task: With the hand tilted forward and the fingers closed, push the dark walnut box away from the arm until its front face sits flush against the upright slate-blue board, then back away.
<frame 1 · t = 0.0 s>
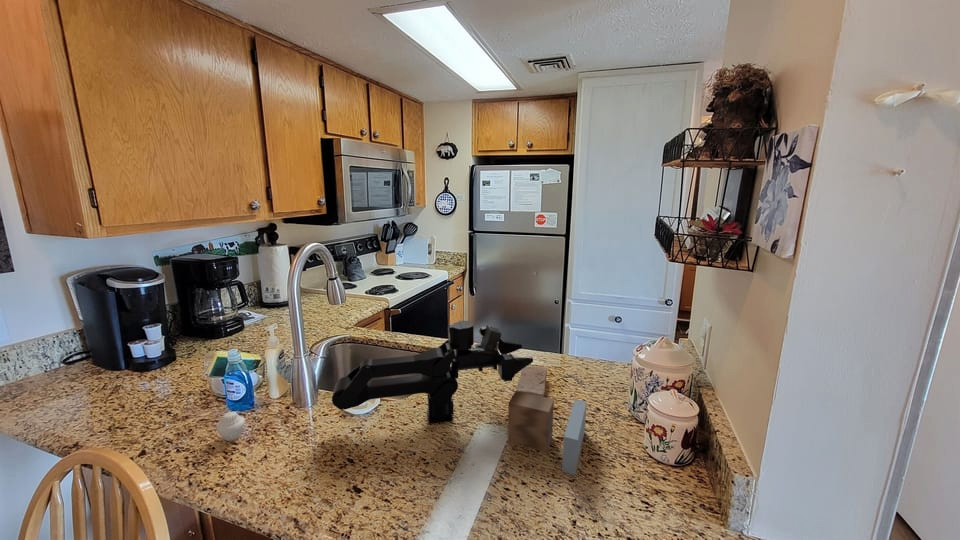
hand: (527, 352, 107), 17 cm above the countertop, tool horizontal, fingers open, 9 cm apart
slate board: (574, 450, 92), on the countertop
brick: (532, 392, 119), on the countertop
walnut box: (530, 439, 96), on the countertop
grey rounded lump: (233, 437, 97), on the countertop
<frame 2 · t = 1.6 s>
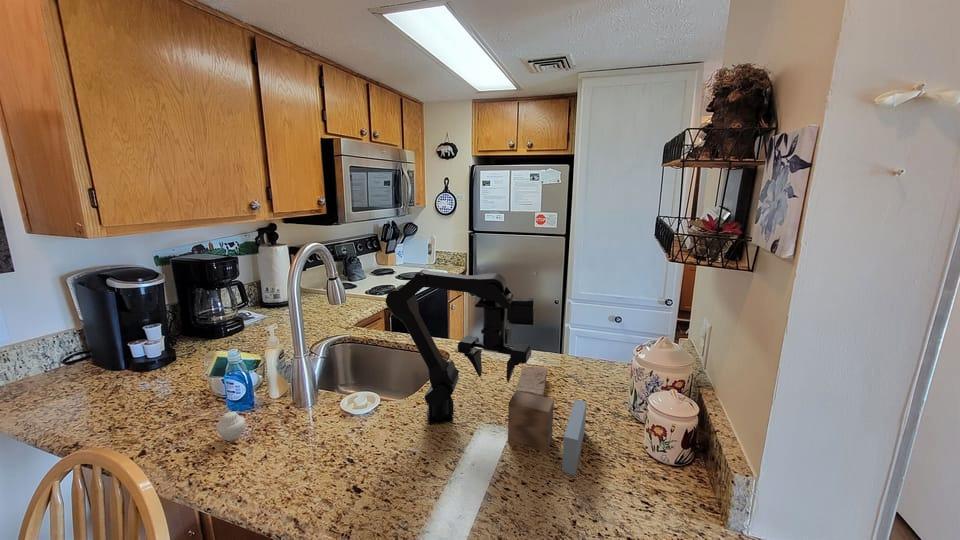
hand: (494, 378, 100), 13 cm above the countertop, tool pointing down, fingers open, 8 cm apart
nothing on the countertop moved.
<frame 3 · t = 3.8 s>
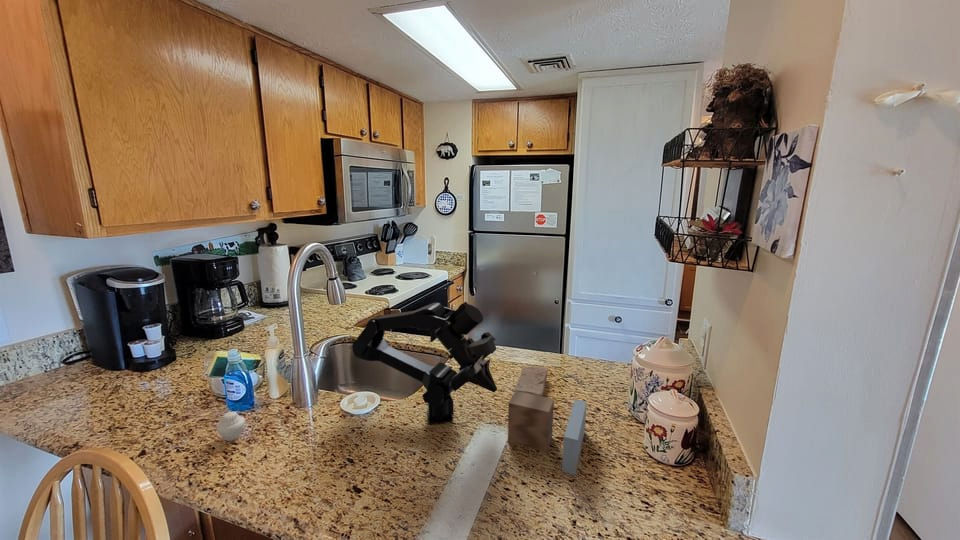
hand: (495, 390, 97), 12 cm above the countertop, tool tilted 45°, fingers closed
nothing on the countertop moved.
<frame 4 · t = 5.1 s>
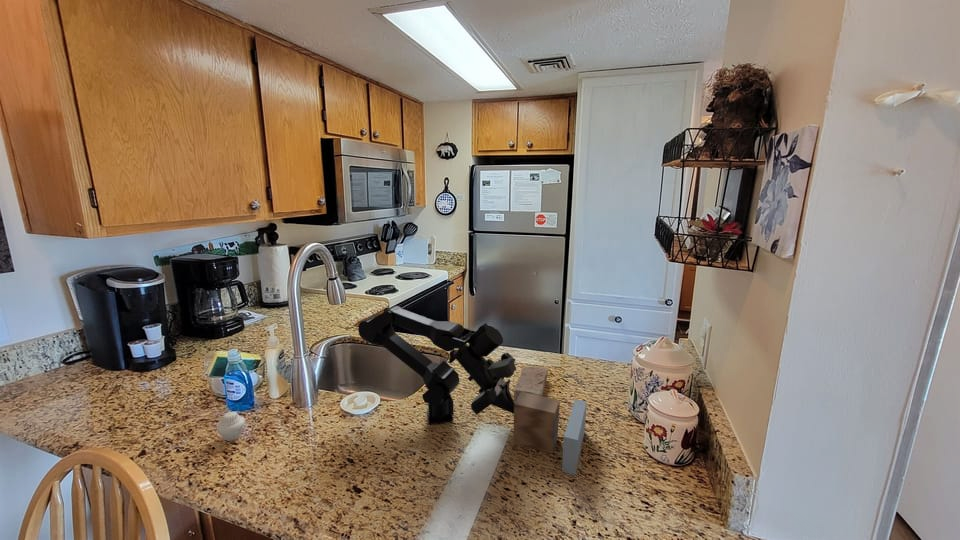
hand: (516, 412, 96), 7 cm above the countertop, tool tilted 45°, fingers closed, pressing on walnut box
walnut box: (535, 440, 96), on the countertop, touching gripper
everything else where it was.
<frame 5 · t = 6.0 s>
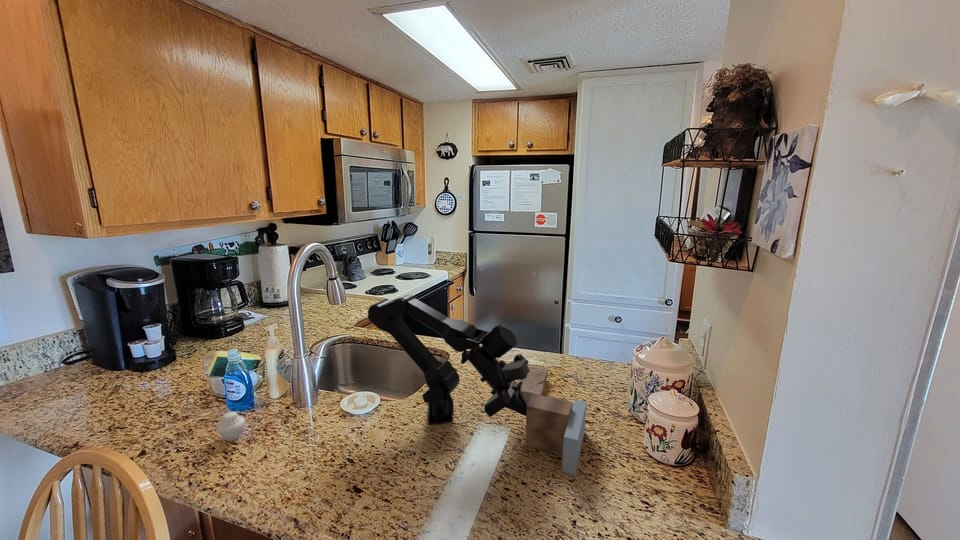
hand: (528, 414, 95), 7 cm above the countertop, tool tilted 45°, fingers closed, pressing on walnut box
walnut box: (547, 443, 95), on the countertop, touching gripper, slate board
everything else where it was.
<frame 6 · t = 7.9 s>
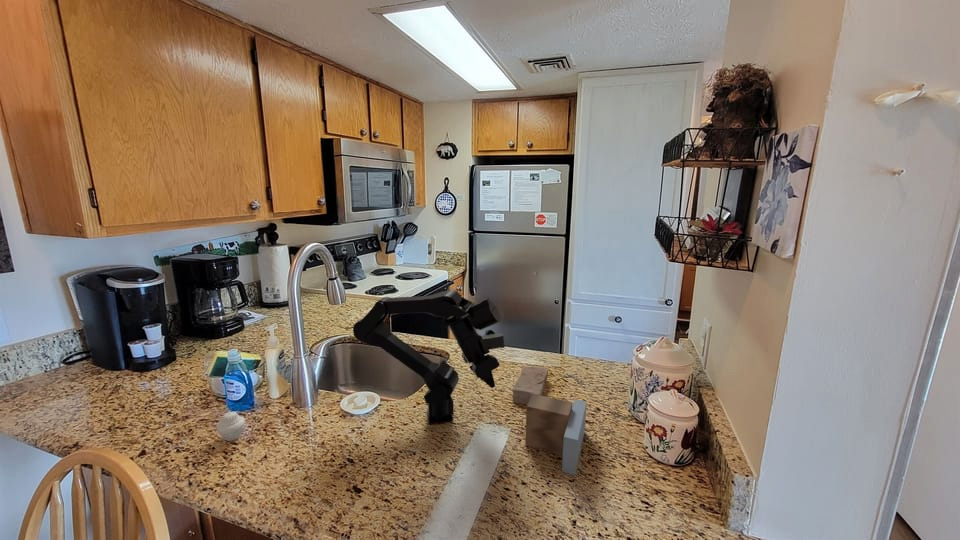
hand: (493, 386, 100), 11 cm above the countertop, tool tilted 30°, fingers closed
walnut box: (547, 443, 95), on the countertop
everything else where it was.
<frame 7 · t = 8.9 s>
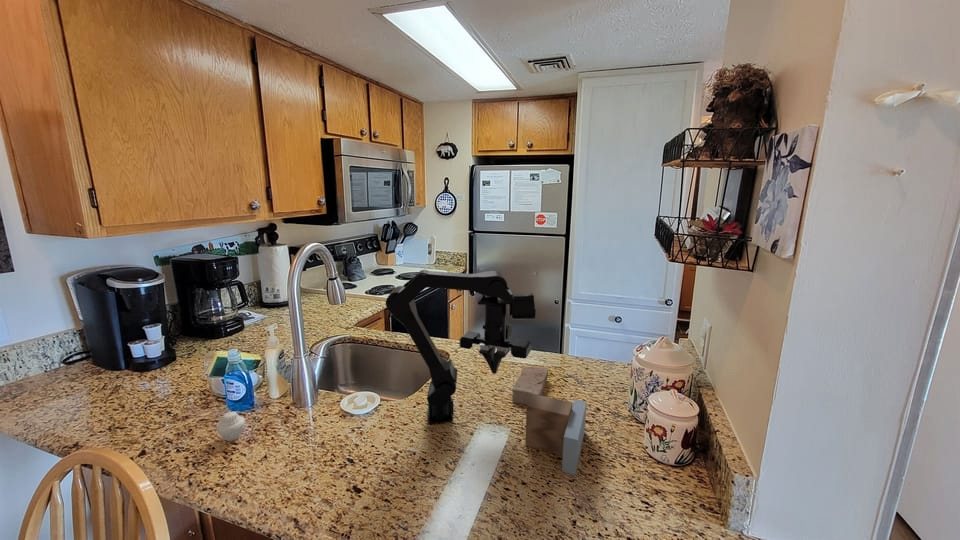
hand: (494, 373, 103), 13 cm above the countertop, tool pointing down, fingers closed
walnut box: (547, 443, 95), on the countertop, touching slate board
everything else where it was.
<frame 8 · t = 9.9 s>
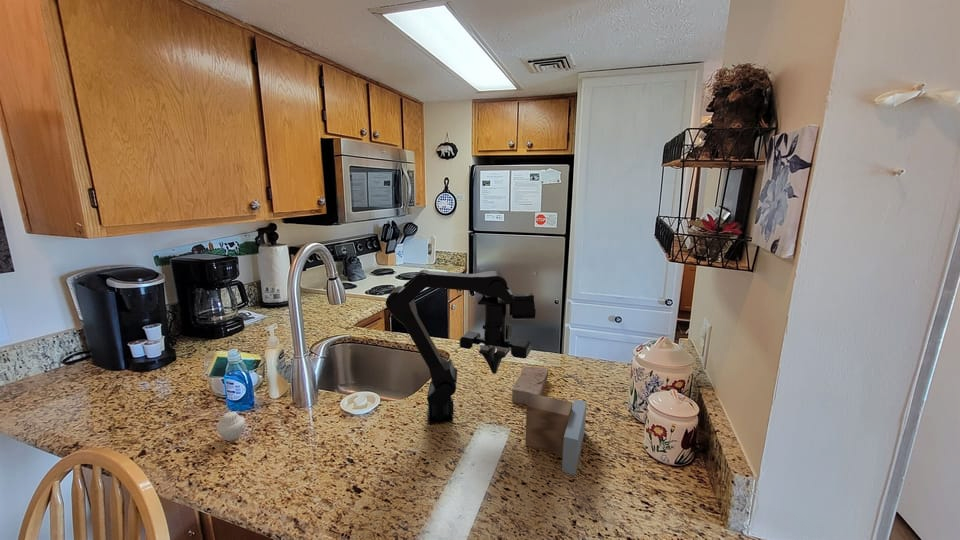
hand: (494, 373, 103), 13 cm above the countertop, tool pointing down, fingers closed
nothing on the countertop moved.
at the end: walnut box 0.7 cm from the target spot on the countertop beside the slate board, on the countertop; walnut box 6.5 cm from the slate board (horizontally); walnut box tilted 0° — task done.
